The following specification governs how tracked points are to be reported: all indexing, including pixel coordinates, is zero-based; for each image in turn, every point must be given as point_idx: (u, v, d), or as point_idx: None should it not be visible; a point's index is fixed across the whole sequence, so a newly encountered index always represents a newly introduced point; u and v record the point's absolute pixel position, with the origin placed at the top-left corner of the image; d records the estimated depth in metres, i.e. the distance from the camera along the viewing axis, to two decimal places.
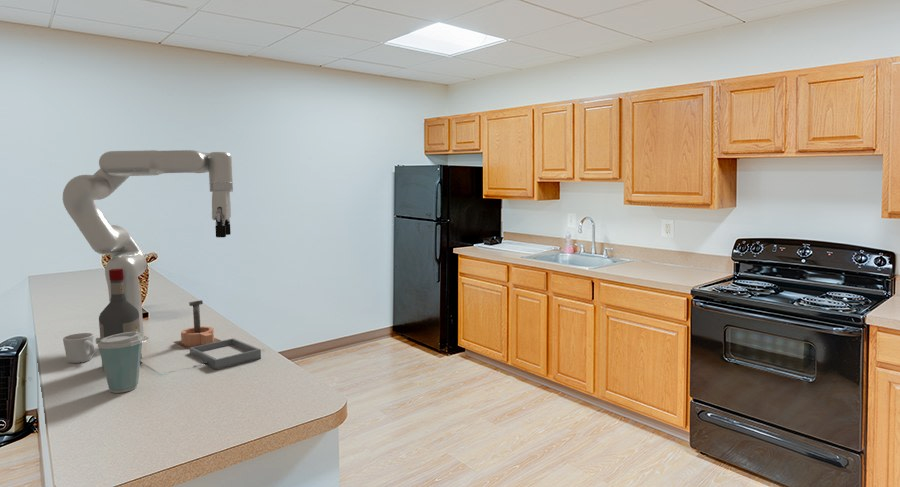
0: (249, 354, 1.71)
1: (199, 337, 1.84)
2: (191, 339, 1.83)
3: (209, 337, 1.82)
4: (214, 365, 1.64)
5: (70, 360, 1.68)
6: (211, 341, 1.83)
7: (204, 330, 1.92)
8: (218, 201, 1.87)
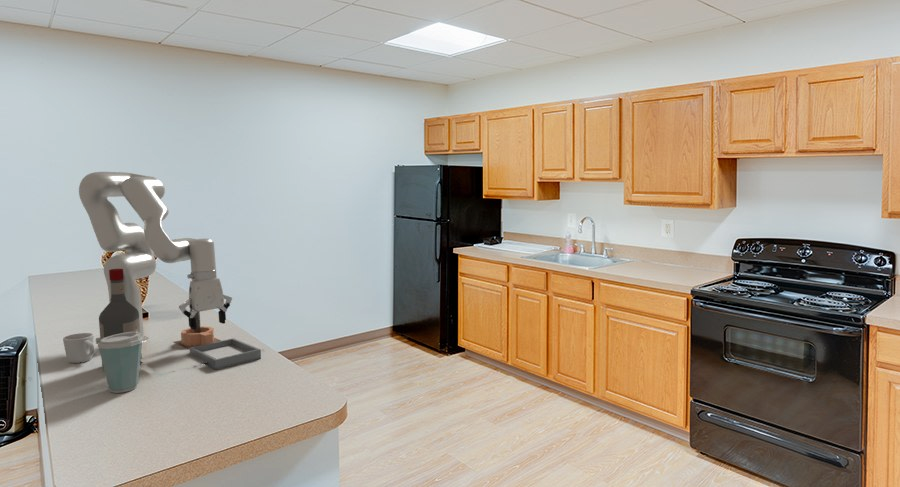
0: (249, 354, 1.71)
1: (199, 337, 1.84)
2: (191, 339, 1.83)
3: (209, 337, 1.82)
4: (214, 365, 1.64)
5: (70, 360, 1.68)
6: (211, 341, 1.83)
7: (204, 330, 1.92)
8: None
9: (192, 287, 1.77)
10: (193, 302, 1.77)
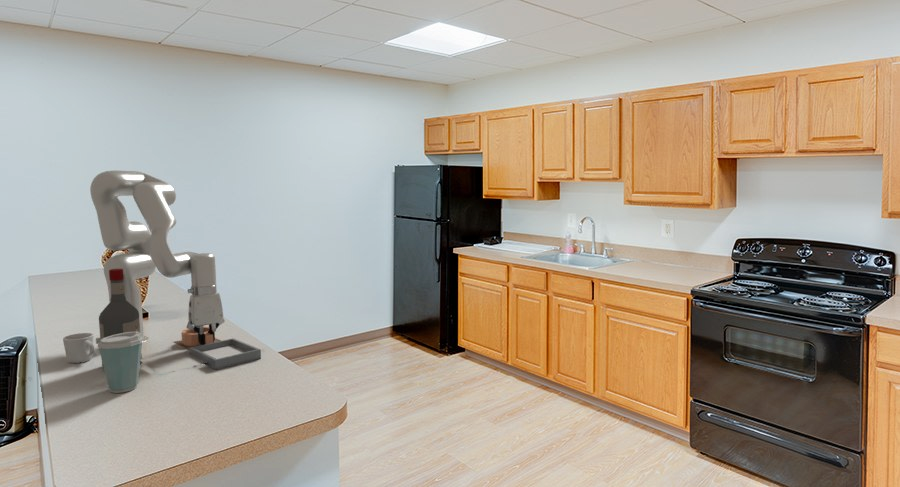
0: (249, 354, 1.71)
1: None
2: (192, 339, 1.83)
3: (210, 337, 1.82)
4: (214, 365, 1.64)
5: (70, 360, 1.68)
6: (212, 341, 1.82)
7: (205, 330, 1.91)
8: None
9: (192, 302, 1.77)
10: (192, 317, 1.77)
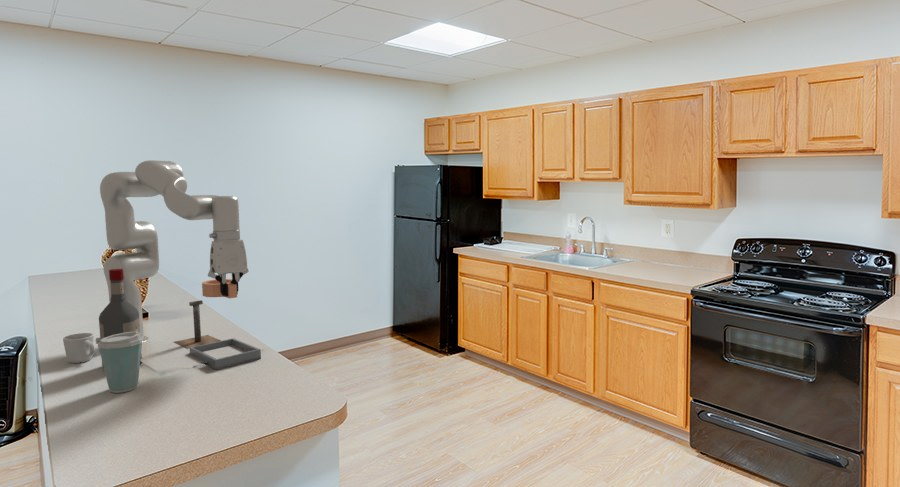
0: (249, 354, 1.71)
1: None
2: (213, 290, 1.68)
3: (233, 287, 1.67)
4: (214, 365, 1.64)
5: (70, 360, 1.68)
6: (235, 292, 1.68)
7: (226, 282, 1.77)
8: None
9: (214, 247, 1.63)
10: (215, 264, 1.63)
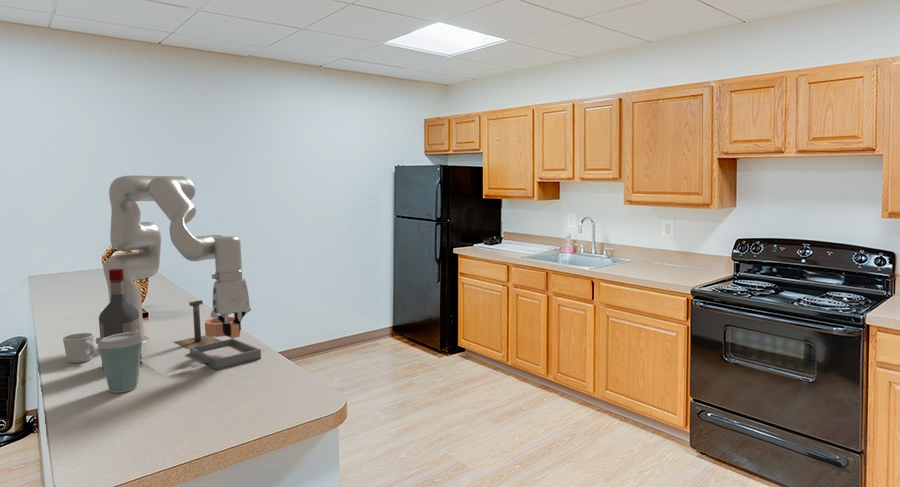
0: (249, 354, 1.71)
1: None
2: (216, 330, 1.69)
3: (236, 327, 1.69)
4: (214, 365, 1.64)
5: (70, 360, 1.68)
6: (238, 331, 1.69)
7: (229, 320, 1.78)
8: None
9: (217, 288, 1.64)
10: (217, 304, 1.64)
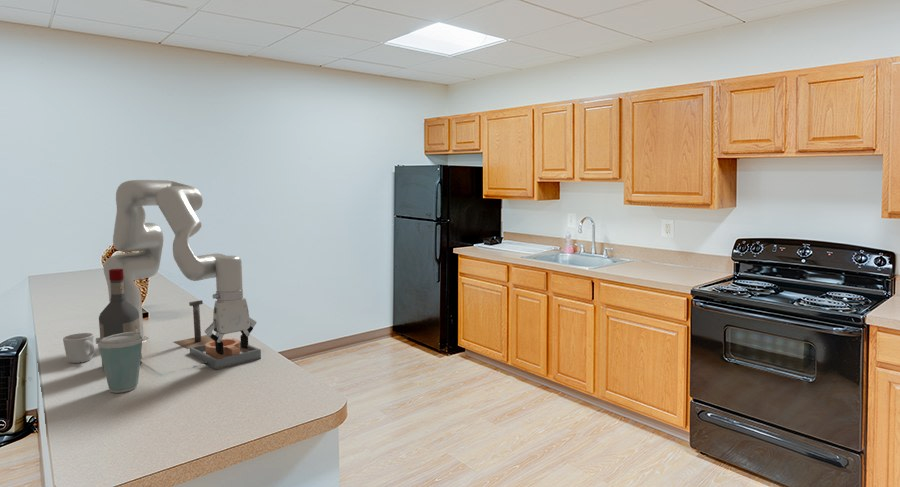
0: (249, 354, 1.71)
1: (225, 350, 1.71)
2: (216, 353, 1.70)
3: (236, 351, 1.69)
4: (214, 365, 1.64)
5: (70, 360, 1.68)
6: None
7: (229, 342, 1.79)
8: None
9: (217, 308, 1.65)
10: (218, 324, 1.65)
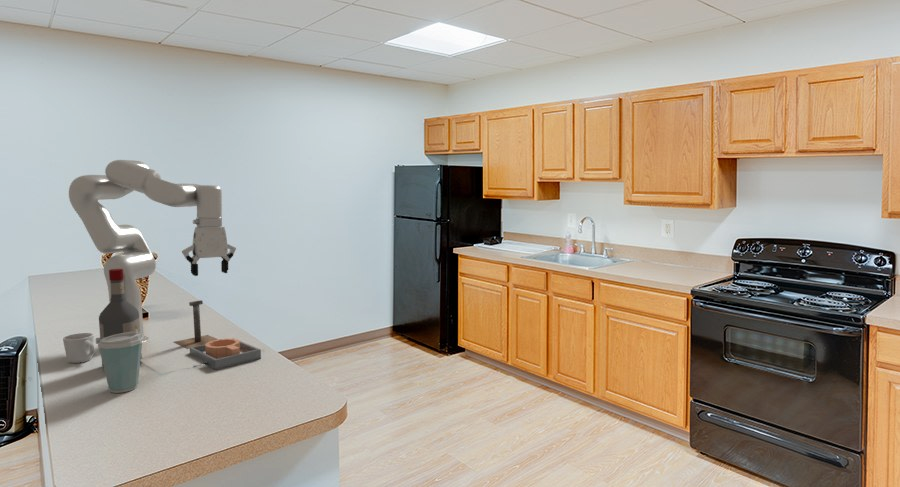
0: (249, 354, 1.71)
1: (225, 350, 1.71)
2: (216, 353, 1.70)
3: (236, 351, 1.69)
4: (214, 365, 1.64)
5: (70, 360, 1.68)
6: None
7: (229, 342, 1.79)
8: None
9: (196, 233, 1.75)
10: (196, 248, 1.75)
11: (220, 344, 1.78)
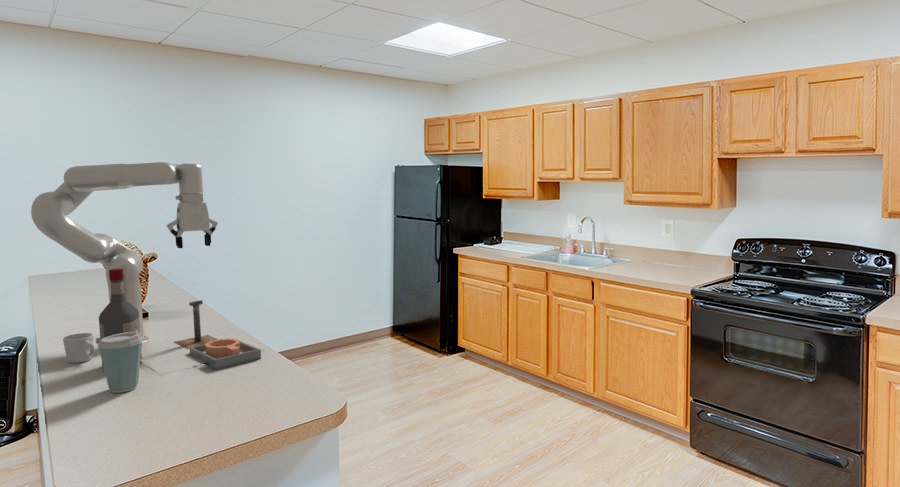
0: (249, 354, 1.71)
1: (225, 350, 1.71)
2: (216, 353, 1.70)
3: (236, 351, 1.69)
4: (214, 365, 1.64)
5: (70, 360, 1.68)
6: None
7: (229, 342, 1.79)
8: None
9: (180, 208, 1.88)
10: (180, 222, 1.88)
11: (220, 344, 1.78)
